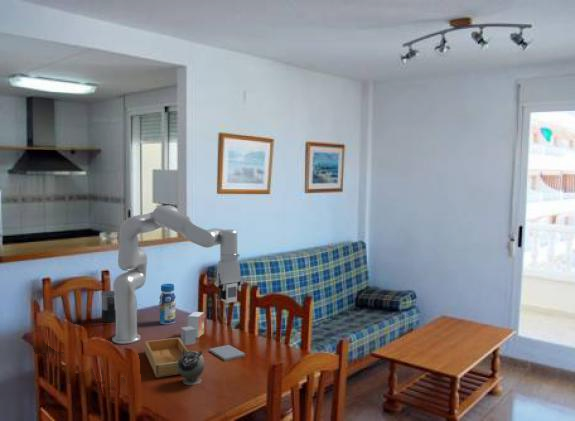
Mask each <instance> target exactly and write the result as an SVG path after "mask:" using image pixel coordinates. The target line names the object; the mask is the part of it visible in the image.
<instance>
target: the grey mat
mask: <svg viewBox="0 0 575 421" xmlns="http://www.w3.org/2000/svg"><path fill="white" fill-rule="evenodd" d="M208 351H209V352H210V353H212V354H213V355H215V356H216V357H218V358H220V359H221V360H223V361H224V362H227V361H230V360H234V359H238V358H242V357H246V353H244V352H243V351H241V350H239V349H238V348H236V347H234V346H232V345H230V344H226V345H222V346H221V345H220V346H216V347H213V348H209V350H208Z"/></svg>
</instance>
